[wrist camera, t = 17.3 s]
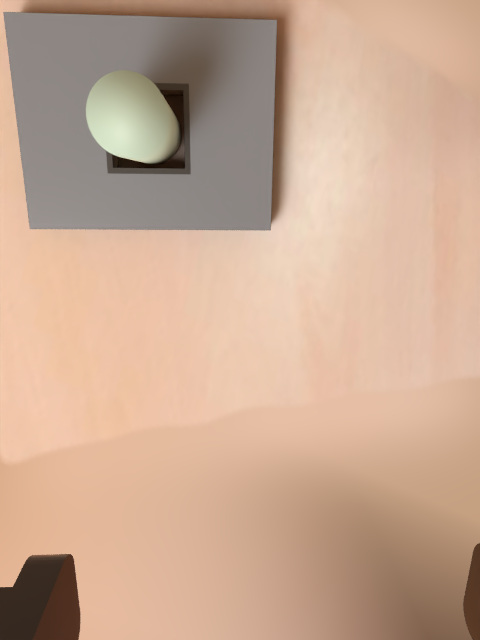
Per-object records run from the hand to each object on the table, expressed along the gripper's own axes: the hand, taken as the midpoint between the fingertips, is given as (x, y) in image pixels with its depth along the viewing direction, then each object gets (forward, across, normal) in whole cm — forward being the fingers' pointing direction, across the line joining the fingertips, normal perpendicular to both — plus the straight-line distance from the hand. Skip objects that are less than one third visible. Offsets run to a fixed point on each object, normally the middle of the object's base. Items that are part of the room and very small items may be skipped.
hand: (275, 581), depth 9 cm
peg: (+30, +6, -11) cm, 33 cm away
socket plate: (+30, +6, -11) cm, 33 cm away
